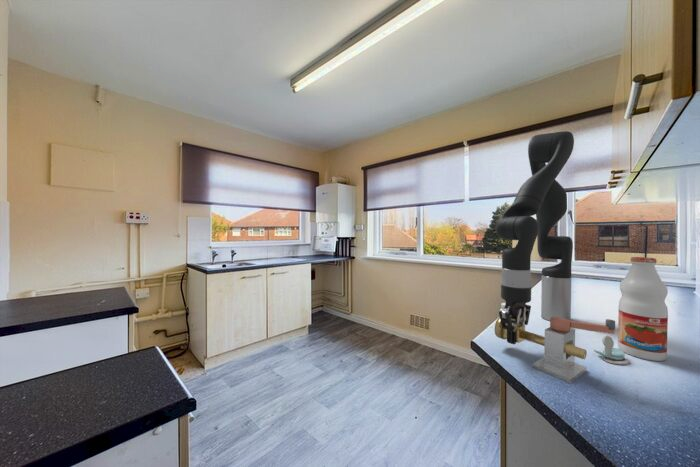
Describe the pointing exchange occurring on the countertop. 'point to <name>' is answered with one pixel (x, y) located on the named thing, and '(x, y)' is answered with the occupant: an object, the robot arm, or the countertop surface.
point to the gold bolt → (535, 339)
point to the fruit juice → (643, 312)
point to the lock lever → (581, 325)
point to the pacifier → (608, 354)
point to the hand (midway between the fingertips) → (515, 341)
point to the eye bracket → (559, 356)
